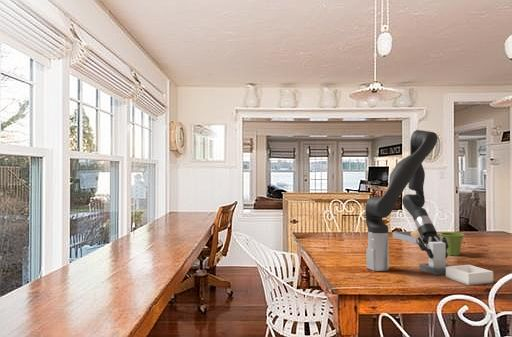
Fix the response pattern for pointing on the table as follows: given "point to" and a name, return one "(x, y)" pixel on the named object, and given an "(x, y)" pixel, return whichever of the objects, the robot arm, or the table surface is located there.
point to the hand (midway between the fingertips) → (439, 257)
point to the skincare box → (438, 254)
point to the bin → (469, 274)
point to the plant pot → (453, 242)
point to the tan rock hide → (415, 233)
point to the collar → (433, 269)
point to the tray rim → (407, 236)
